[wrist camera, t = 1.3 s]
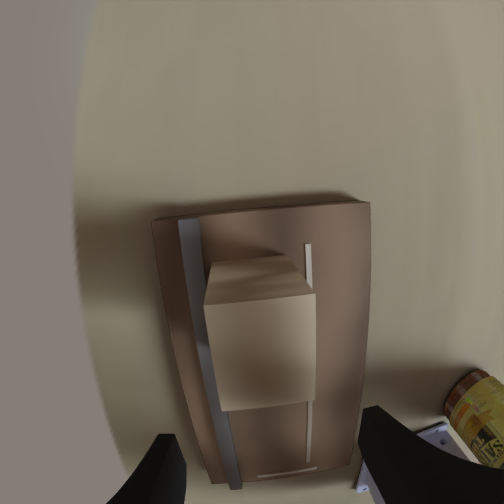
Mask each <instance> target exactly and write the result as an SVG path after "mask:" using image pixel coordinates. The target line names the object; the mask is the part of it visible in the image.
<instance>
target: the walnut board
mask: <svg viewBox="0 0 504 504" xmlns="http://www.w3.org/2000/svg"><path fill="white" fill-rule="evenodd" d="M151 225H152V232H153V240H154V246H155V253H156V260H157V266H158V272H159V278H160V284H161V289H162V295H163V300H164V306H165V311H166V316H167V321H168V326H169V330H170V335H171V340H172V344H173V349H174V353H175V358H176V362H177V366H178V370H179V374H180V379H181V383H182V386H183V390H184V394H185V398H186V402H187V405H188V409H189V413H190V416H191V420H192V423H193V427H194V430H195V434H196V437H197V440H198V444H199V447H200V450H201V453H202V456H203V459H204V463H205V466H206V469H207V472H208V475H209V478H210V480H211V483H212V484H222V483H229V486H230V490H237V489H242V482H251V481H261V480H270V479H278V478H285V477H292V476H298V475H304V474H309V473H315V472H320V471H324V470H329V469H334V468H338V467H342V466H346V465H349V464H350V459H351V454H352V449H353V443H354V438H355V432H356V427H357V420H358V414H359V407H360V401H361V393H362V386H363V377H364V369H365V359H366V348H367V337H368V323H369V306H370V282H371V212H370V202H365V201H343V202H328V203H313V204H300V205H287V206H275V207H263V208H252V209H241V210H231V211H221V212H211V213H202V214H193V215H184V216H175V217H167V218H159V219H156V220H154V221H152V222H151ZM280 255H287V256H288V257H289V259H290V260H291V261H292V263H293V264H294V265H295V267H296V268H297V269H298V271H299V272H300V273H301V275H302V276H303V277H304V279H305V280H306V281H307V283H308V284H309V285H310V287H311V288H312V289H313V291H314V292H315V293H316V382H315V400H312V401H306V402H300V403H293V404H286V405H279V406H272V407H263V408H255V409H245V410H234V411H222V410H221V405H220V400H219V395H218V389H217V384H216V379H215V373H214V368H213V362H212V356H211V350H210V345H209V339H208V332H207V326H206V320H205V313H204V307H203V305H204V300H205V295H206V289H207V284H208V279H209V275H210V270H211V265H212V262H220V261H230V260H240V259H250V258H260V257H270V256H280Z"/></svg>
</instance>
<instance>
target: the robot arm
mask: <svg viewBox="0 0 504 504" xmlns="http://www.w3.org/2000/svg"><path fill="white" fill-rule="evenodd" d="M447 427H448V424H447V423H442V424H440V425H437V426H435V427H433V428H430V429H427V430H425V431H422V432H420V433H417V434H415V433H414V432H412V431H411V430H409V429H408V428H407V427H405V426H404V425H402V424H401V423H400V422H398V421H397V420H396V419H395V418H393V417H392V416H391V415H389V414H388V413H387V412H386V411H384V410H383V409H382V408H381V407H379V406H378V405H376V406H372V407H368V408H365V409H363V413H362V420H361V426H360V431H359V437H358V445H359V448H360V451H361V454H362V457H363V463H362V467H361V471H360V475H359V478H358V482H357V485H356V489H355V491H356V492H357V493H360V492H363V491H367V490H369V491H370V493H371V495H372V498H373V500H374V502H375V504H504V469H499V468H493V467H489V466H484V465H480V464H477V463H474V462H471V461H470V460H469V459H468V458H467V456H466V455H465V454H464V452H463V451H462V450H461V448H460V447H459V446H458V445H457V443H456V442H455V441H454V439H453V438H452V437H451V436H450V434H449V433H448V432H447V431H446V430H447ZM185 492H186V463H185V460H184V458H183V455H182V452H181V450H180V447H179V445H178V442H177V439H176V437H175V434H158V435H157V437H156V438H155V440H154V442H153V443H152V445H151V447H150V448H149V450H148V452H147V453H146V455H145V456H144V458H143V459H142V461H141V462H140V464H139V465H138V466H137V468H136V469H135V471H134V472H133V473H132V475H131V476H130V477H129V479H128V480H127V481H126V482H125V484H124V485H123V486H122V487H121V489H120V490H119V491H118V492H117V493H116V494H115V495H114V496H113V497H112V498H111V499H110V501H108V502H107V503H106V504H184V500H185Z"/></svg>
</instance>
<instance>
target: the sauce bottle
mask: <svg viewBox="0 0 504 504" xmlns="http://www.w3.org/2000/svg"><path fill="white" fill-rule="evenodd" d="M444 413H445V415H446V417H447V418H448V419H449V422H450V425H451V426H452V427H453V429H454V430H455V431H456V432H457V434H458V435H459V436H460V437H461V439H462V440H463V441H464V443H465V444H466V445H467V446H468V448H469V449H470V450H471V451H472V453H473V454H474V455H475V457H476V458H477V459H478V461H479V462H480V463H481V464H482V465H484V466H489V467H493V468H499V469H504V385H503V384H502V383H501V382H500V381H498V380H497V379H496V378H495V377H493V376H490V375H489V374H488V373H487V372H486V371H483V370H475V371H473V372H471V373H470V374H468V375H467V376H466V377H464V378H463V379H462V380H460V381H459V382H458V383H457V385H456V386H455V387H454V388H453V390H452V392H451V393H450V394H449V397H448V398H447V400H446V403H445V406H444Z"/></svg>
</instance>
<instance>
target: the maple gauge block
mask: <svg viewBox="0 0 504 504" xmlns="http://www.w3.org/2000/svg"><path fill="white" fill-rule="evenodd" d="M203 307H204V313H205V320H206V326H207V332H208V339H209V345H210V350H211V356H212V362H213V368H214V373H215V379H216V384H217V389H218V395H219V400H220V405H221V410H222V411H234V410H245V409H255V408H263V407H272V406H279V405H286V404H293V403H300V402H306V401H312V400H315V382H316V293H315V292H314V291H313V289H312V288H311V287H310V285H309V284H308V283H307V281H306V280H305V279H304V277H303V276H302V275H301V273H300V272H299V271H298V269H297V268H296V267H295V265H294V264H293V263H292V261H291V260H290V259H289V257H288V256H287V255H280V256H270V257H260V258H250V259H240V260H230V261H220V262H212V265H211V270H210V275H209V279H208V284H207V289H206V295H205V300H204V305H203Z"/></svg>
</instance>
